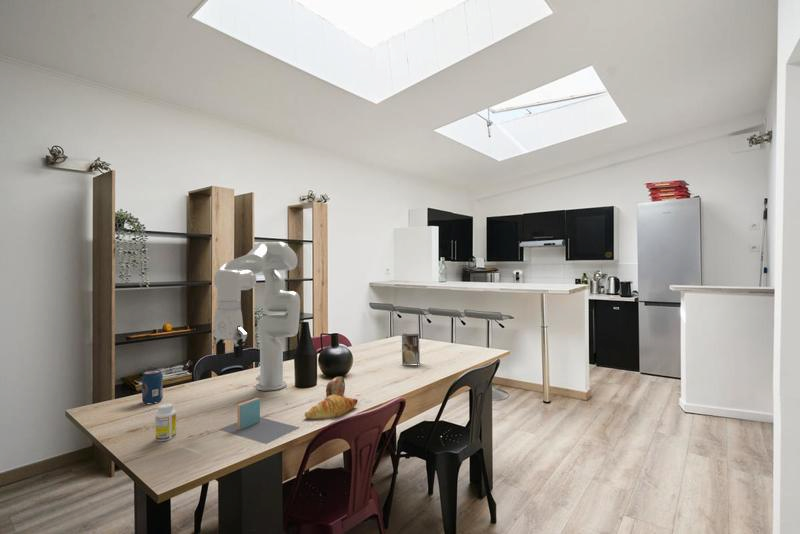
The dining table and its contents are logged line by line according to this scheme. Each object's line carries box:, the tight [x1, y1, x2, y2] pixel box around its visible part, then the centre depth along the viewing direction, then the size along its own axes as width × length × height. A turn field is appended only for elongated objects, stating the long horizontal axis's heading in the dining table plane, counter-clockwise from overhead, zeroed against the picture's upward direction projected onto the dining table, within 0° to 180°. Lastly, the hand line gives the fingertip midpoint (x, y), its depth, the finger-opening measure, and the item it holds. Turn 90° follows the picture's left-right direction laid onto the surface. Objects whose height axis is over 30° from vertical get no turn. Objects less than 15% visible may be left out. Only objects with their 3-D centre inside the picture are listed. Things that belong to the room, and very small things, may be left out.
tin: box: [325, 376, 346, 398], centre depth 161 cm, size 15×3×8 cm, turn 168°
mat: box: [219, 416, 301, 445], centre depth 132 cm, size 22×14×1 cm, turn 60°
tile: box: [236, 397, 261, 430], centre depth 135 cm, size 2×8×8 cm, turn 150°
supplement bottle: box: [154, 402, 177, 442], centre depth 126 cm, size 6×6×10 cm
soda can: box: [141, 369, 164, 405], centre depth 160 cm, size 7×7×12 cm
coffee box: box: [401, 333, 421, 366], centre depth 219 cm, size 9×6×16 cm
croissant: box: [304, 394, 359, 420], centre depth 146 cm, size 21×10×8 cm, turn 130°
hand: (229, 355), depth 140 cm, fingers open, 8 cm apart
